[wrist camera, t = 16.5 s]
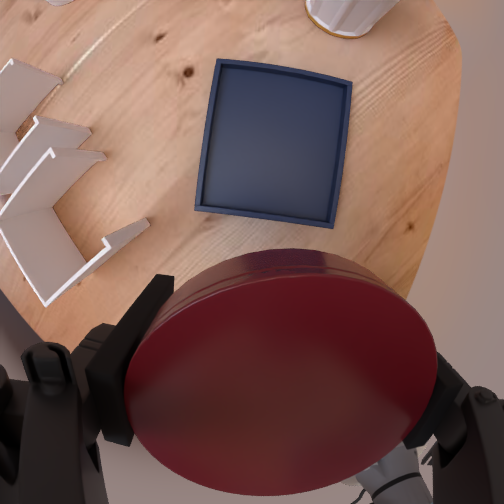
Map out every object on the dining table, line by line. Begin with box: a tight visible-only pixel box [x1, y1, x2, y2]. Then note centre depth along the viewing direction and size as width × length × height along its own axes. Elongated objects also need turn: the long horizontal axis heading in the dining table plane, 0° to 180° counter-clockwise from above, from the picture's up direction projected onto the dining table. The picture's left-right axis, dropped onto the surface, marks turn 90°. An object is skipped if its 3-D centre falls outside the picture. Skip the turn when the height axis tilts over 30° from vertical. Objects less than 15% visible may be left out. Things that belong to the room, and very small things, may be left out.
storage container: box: [0, 58, 151, 307], centre depth 25 cm, size 25×11×11 cm, turn 33°
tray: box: [194, 59, 352, 229], centre depth 30 cm, size 17×15×2 cm
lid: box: [123, 248, 438, 496], centre depth 7 cm, size 8×8×2 cm
